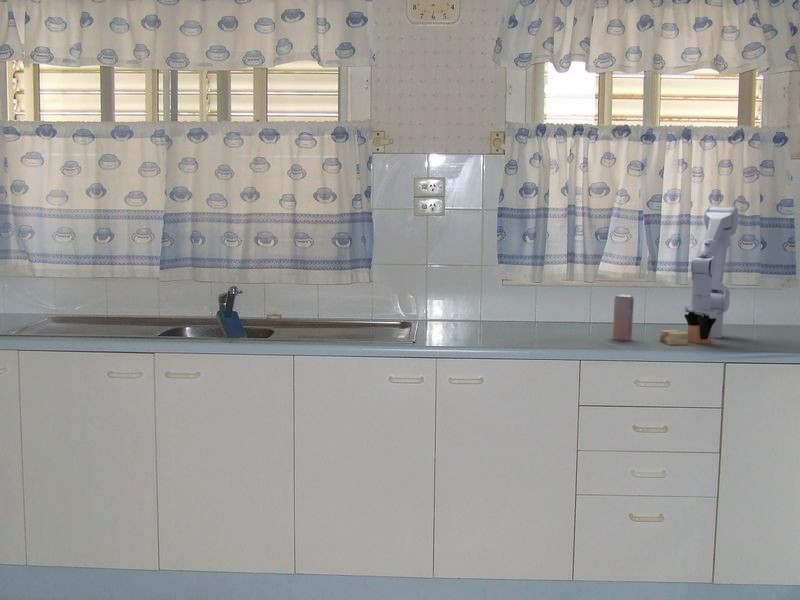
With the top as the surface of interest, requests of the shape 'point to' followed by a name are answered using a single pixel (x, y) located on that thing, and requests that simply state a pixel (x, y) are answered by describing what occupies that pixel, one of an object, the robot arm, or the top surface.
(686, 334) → the birch block
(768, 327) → the top surface
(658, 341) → the base plate
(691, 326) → the terracotta block
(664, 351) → the top surface
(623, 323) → the beverage can
